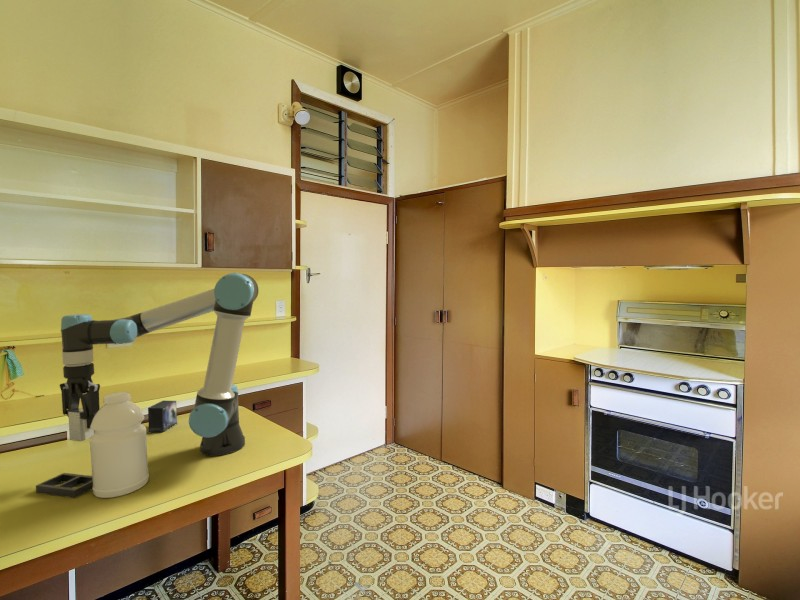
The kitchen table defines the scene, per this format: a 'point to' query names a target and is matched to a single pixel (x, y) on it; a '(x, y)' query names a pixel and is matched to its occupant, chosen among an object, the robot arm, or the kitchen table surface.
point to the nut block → (76, 424)
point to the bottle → (118, 447)
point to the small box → (162, 416)
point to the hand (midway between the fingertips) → (82, 437)
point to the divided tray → (66, 485)
